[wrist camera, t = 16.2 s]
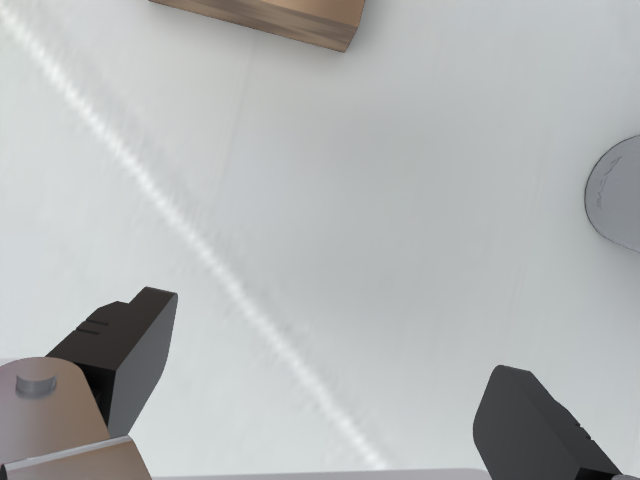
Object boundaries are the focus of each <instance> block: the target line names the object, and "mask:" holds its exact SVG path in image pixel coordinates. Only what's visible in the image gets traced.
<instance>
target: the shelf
mask: <svg viewBox="0 0 640 480" xmlns="http://www.w3.org/2000/svg"><path fill="white" fill-rule="evenodd" d="M149 1H152V2H155V3H159V4H163V5H167V6H171V7H174V8H178V9H182V10H186V11H189V12H193V13H197V14H201V15H204V16H208V17H212V18H216V19H220V20H223V21H227V22H231V23H235V24H238V25H242V26H246V27H250V28H253V29H257V30H261V31H265V32H268V33H272V34H276V35H280V36H284V37H287V38H291V39H295V40H299V41H302V42H306V43H310V44H314V45H317V46H321V47H325V48H329V49H332V50H336V51H340V52H344V53H345V51H346V50H347V48H348V46H349V44H350V42H351V40H352V38H353V36H354V34H355V33H356V31H357V29H358V26H359V22H360V18H361V14H362V10H363V6H364V2H365V0H149Z"/></svg>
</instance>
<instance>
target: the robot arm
mask: <svg viewBox="0 0 640 480" xmlns="http://www.w3.org/2000/svg"><path fill="white" fill-rule="evenodd" d="M585 203H586V210H587V214H588V216H589V219H590V221H591V223H592V224H593V226H594V227H595V229H596V230H597V231H598V232H599V233H600V234H602V235H603V236H604V237H605V238H607V239H609V240H611V241H613V242H616V243H618V244H620V245H623V246H625V247H627V248H630V249H632V250H634V251H637V252H639V253H640V136H635V137H633V138H630V139H628V140H625V141H623V142H621V143H620V144H618V145H616V146H615V147H613V148H612V149H611V150H610V151H609V152H607V153H606V154H605V155H604V156H603V157H602V158H601V160H600V161H599V162H598V164H597V165H596V166H595V168H594V170H593V172H592V174H591V176H590V178H589V181H588V185H587V188H586V197H585ZM177 302H178V295H177V293H174V292H169V291H165V290H160V289H156V288H151V287H147V286H146V287H144V288H143V289H142V290H141V291H140V292H139V293H138V294H137V295H136V297H135V298H134V299H133V300H132V301H131V302H130V303H129V304H128V303H123V302H119V301H116V302H113V303H111V304H108V305H105V306H103V307H100V308H98V309H97V310H95V311H94V312H93V313H92V314H91V315H90V316H89V317H88V318H87V319H86V321H83V322H82V323H81V324H80V325H79V326H78V327H77V328H76V330H74V331H72V332H71V333H70V334H69V335H68V336H67V337H66V338H65V339H64V340H63V341H61V342H60V343H59V344H58V345H57V346H56V347H55V348H54V349H53V350H52V351H50V352H49V353H48V354H47V355H46V356H45V357H32V358H25V359H20V360H16V361H13V362H10V363H7V364H5V365H3V366H1V367H0V480H152V478H151V476H150V474H149V472H148V470H147V468H146V466H145V463H144V461H143V459H142V457H141V455H140V453H139V451H138V449H137V447H136V445H135V443H134V441H133V439H132V438H131V437H130V436H129V435H128V433H129V431H130V430H131V428H132V426H133V424H134V423H135V421H136V419H137V417H138V416H139V414H140V412H141V410H142V409H143V407H144V405H145V403H146V402H147V400H148V398H149V397H150V395H151V393H152V391H153V390H154V388H155V386H156V384H157V383H158V381H159V379H160V377H161V375H162V373H163V370H164V367H165V364H166V361H167V357H168V352H169V347H170V341H171V336H172V330H173V325H174V319H175V314H176V308H177ZM473 438H474V442H475V445H476V447H477V449H478V451H479V453H480V455H481V457H482V459H483V462H484V464H485V466H486V468H487V470H488V472H489V474H490V476H491V478H492V480H640V478H637V477H634V476H629V475H623V474H622V473H621V472H620V471H619V469H618V468H617V467H616V466H615V465H614V464H613V462H612V461H611V460H610V459H609V458H608V457H607V455H606V454H605V453H604V452H603V451H602V449H601V448H600V447H599V446H598V445H597V444H596V442H595V441H594V440H591V437H590V435H589V434H588V433H587V432H586V431H585V430H584V428H582V427H580V424H579V423H578V421H577V420H576V419H575V418H574V417H573V416H572V414H571V413H570V412H569V411H568V410H567V409H566V408H565V407H563V406H562V405H561V404H559V403H558V402H557V401H556V400H554V398H553V397H552V396H551V395H550V394H549V392H548V391H547V390H546V389H545V388H544V387H543V385H542V384H541V383H540V382H539V381H538V379H537V378H536V377H535V376H534V375H533V374H532V373H531V372H530V371H526V370H522V369H517V368H513V367H508V366H503V365H498V366H497V367H495V369H494V370H493V372H492V374H491V376H490V379H489V382H488V384H487V387H486V389H485V392H484V395H483V397H482V400H481V402H480V405H479V408H478V410H477V413H476V416H475V419H474V423H473Z"/></svg>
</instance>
